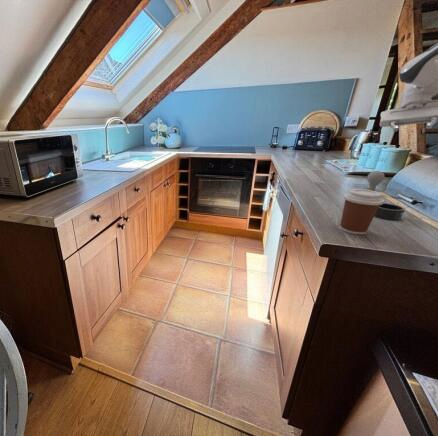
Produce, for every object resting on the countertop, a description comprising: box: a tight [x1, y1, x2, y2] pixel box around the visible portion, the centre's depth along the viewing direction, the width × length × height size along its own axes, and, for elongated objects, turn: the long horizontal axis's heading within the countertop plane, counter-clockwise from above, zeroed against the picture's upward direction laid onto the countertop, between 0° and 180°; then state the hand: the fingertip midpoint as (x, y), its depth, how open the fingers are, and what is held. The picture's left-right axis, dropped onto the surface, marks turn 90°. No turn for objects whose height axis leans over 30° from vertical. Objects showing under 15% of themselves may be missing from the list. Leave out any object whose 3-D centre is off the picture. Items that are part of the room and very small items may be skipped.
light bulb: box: [366, 170, 385, 191], centre depth 106 cm, size 6×6×10 cm
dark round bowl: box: [374, 202, 406, 221], centre depth 83 cm, size 8×8×4 cm
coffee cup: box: [339, 188, 385, 235], centre depth 72 cm, size 9×9×12 cm
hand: (411, 128), depth 100 cm, fingers open, 8 cm apart
